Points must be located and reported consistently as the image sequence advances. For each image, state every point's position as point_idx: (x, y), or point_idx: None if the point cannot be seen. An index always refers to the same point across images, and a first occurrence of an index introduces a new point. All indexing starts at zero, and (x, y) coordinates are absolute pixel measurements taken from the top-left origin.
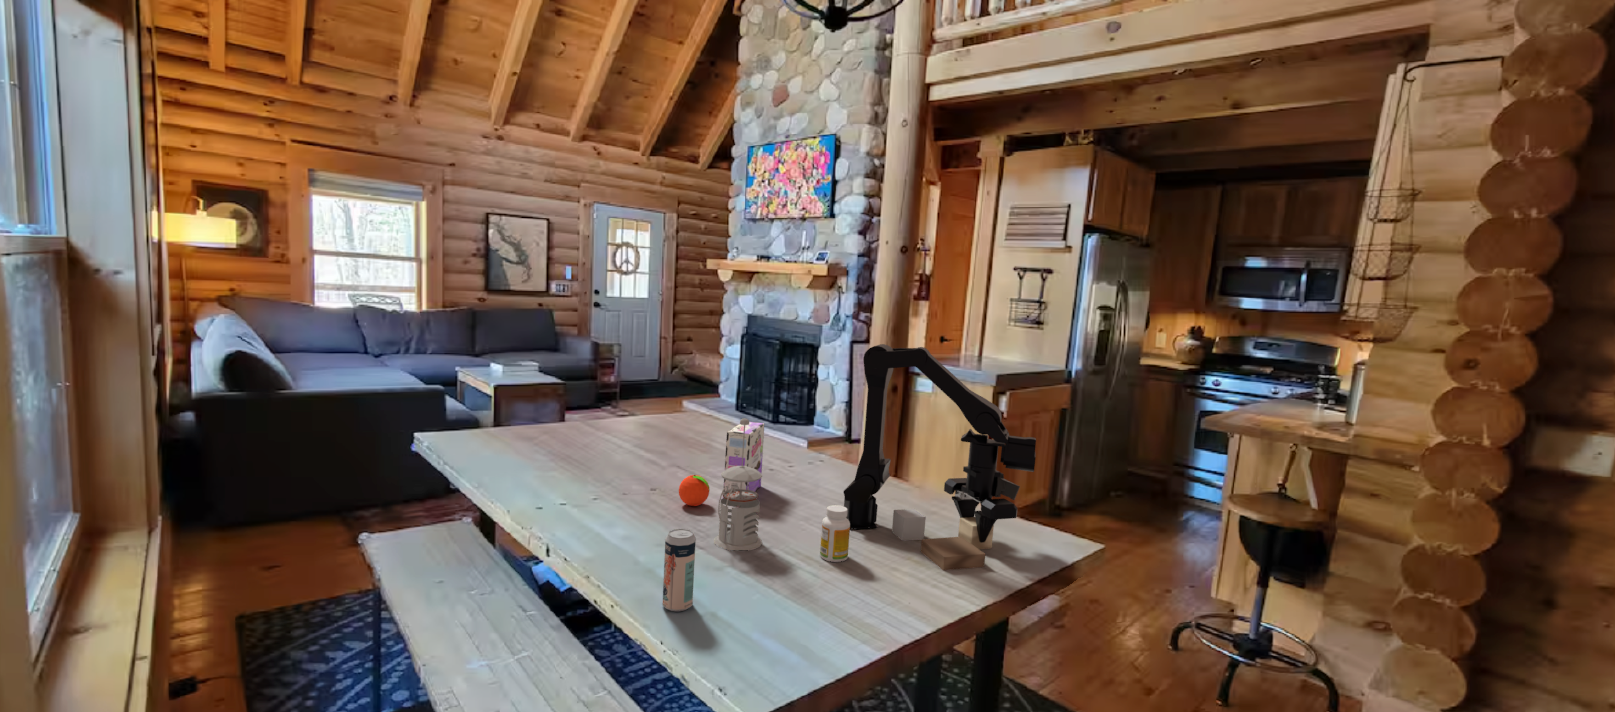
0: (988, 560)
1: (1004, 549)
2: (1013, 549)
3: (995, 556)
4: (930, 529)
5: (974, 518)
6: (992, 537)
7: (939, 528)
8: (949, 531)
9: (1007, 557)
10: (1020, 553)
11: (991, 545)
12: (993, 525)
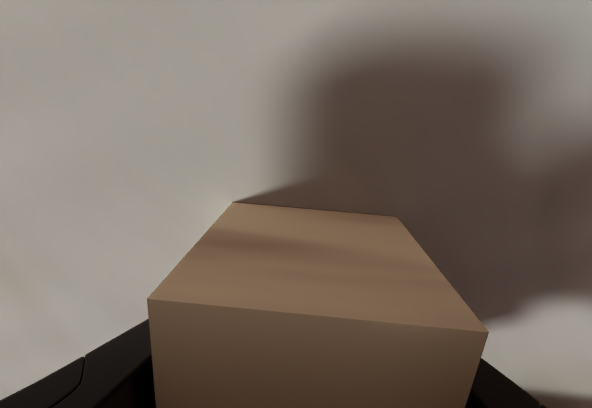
0: (536, 351)
1: (448, 136)
2: (478, 60)
3: (512, 278)
4: (51, 373)
5: (204, 405)
6: (424, 253)
7: (33, 321)
8: (83, 295)
9: (565, 214)
10: (565, 58)
11: (402, 226)
12: (485, 333)
